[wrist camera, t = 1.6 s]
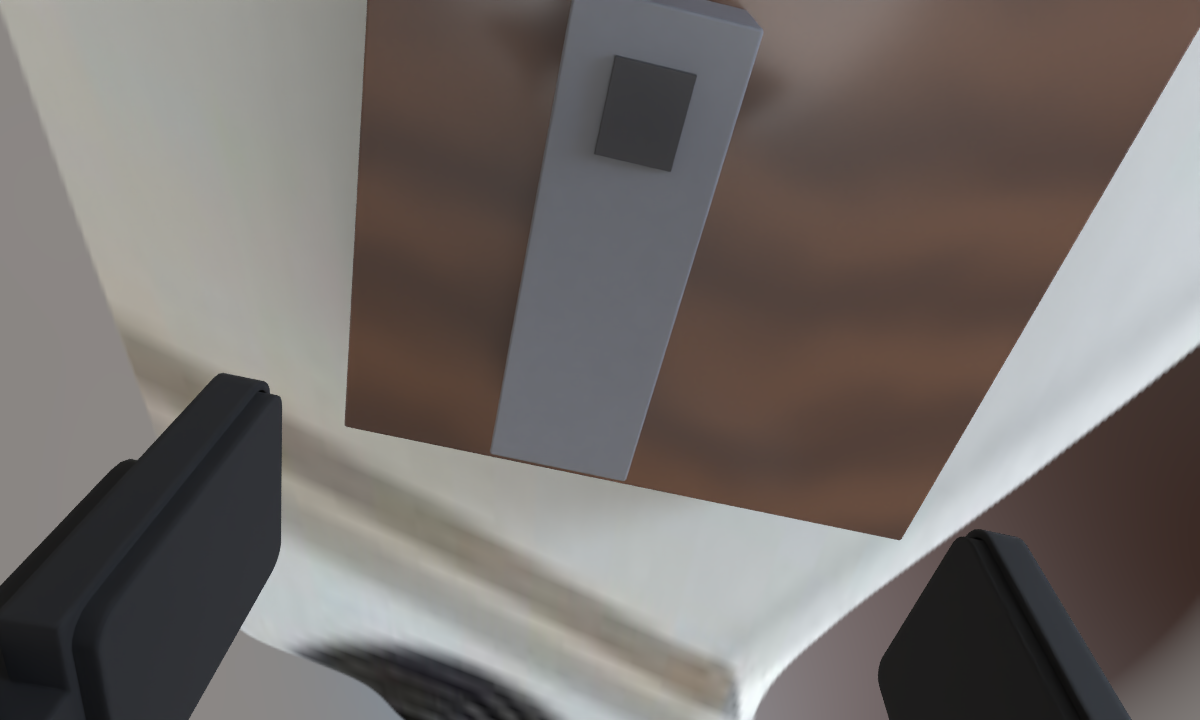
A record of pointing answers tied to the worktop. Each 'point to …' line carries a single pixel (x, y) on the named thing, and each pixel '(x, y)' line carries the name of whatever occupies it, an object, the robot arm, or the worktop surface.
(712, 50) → the grey long block
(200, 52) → the worktop surface
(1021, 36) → the shelf
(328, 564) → the worktop surface
